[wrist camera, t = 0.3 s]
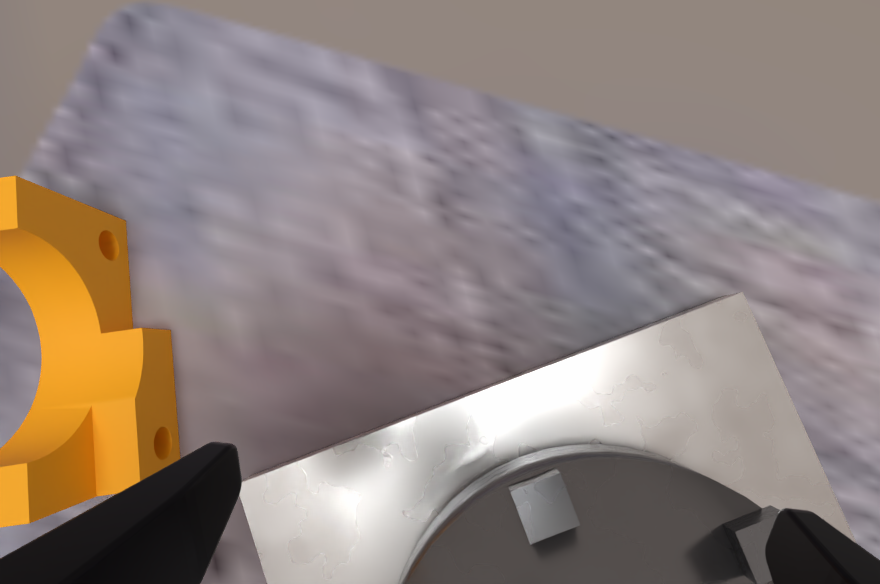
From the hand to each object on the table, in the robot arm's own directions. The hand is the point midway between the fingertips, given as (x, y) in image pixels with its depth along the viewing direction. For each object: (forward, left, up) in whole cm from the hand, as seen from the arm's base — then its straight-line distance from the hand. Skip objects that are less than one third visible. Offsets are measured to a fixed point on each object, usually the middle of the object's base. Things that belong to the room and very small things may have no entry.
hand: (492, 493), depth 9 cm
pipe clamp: (+8, +14, -15) cm, 22 cm away
